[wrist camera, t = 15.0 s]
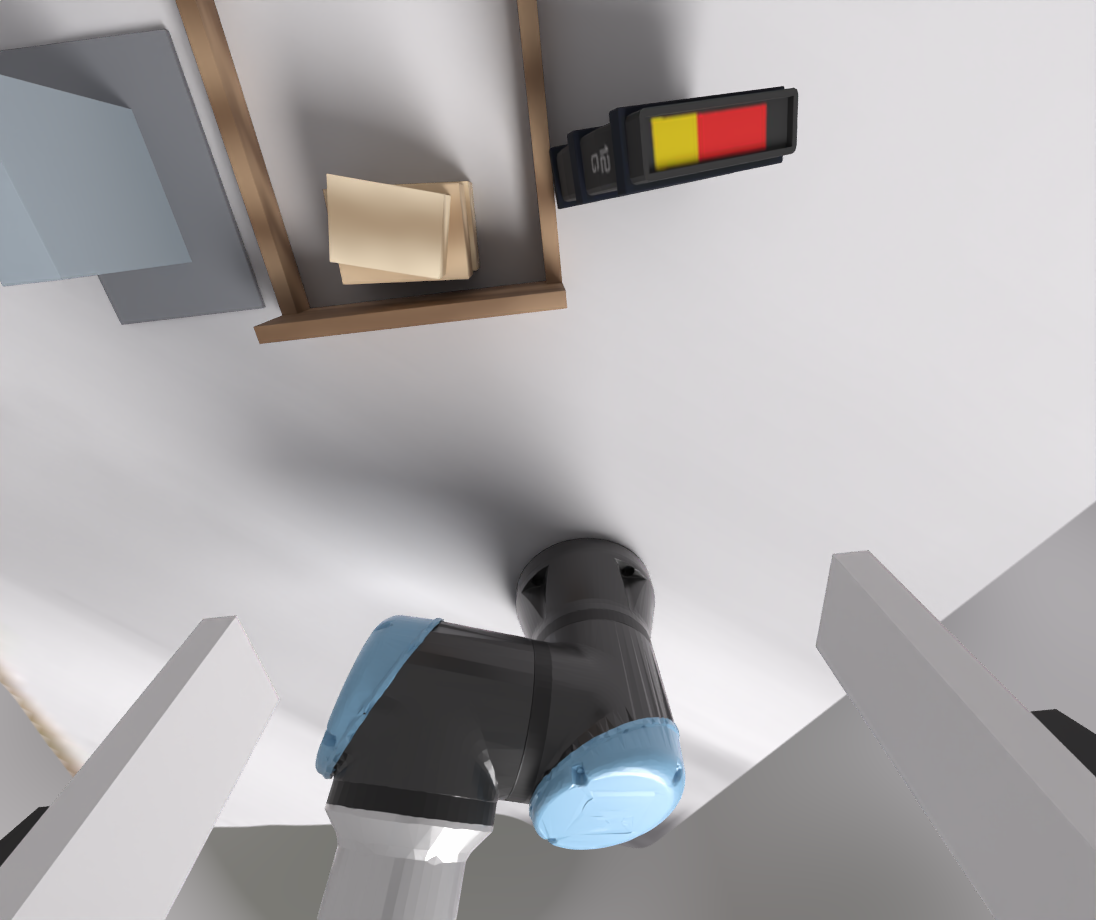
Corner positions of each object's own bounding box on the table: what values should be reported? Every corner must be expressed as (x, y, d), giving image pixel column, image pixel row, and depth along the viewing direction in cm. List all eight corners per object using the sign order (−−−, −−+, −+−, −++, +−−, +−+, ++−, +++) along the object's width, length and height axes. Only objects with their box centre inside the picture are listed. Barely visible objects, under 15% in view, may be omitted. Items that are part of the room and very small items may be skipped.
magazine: (507, 160, 35) (631, 100, 23) (654, 136, 40) (825, 76, 27) (517, 217, 37) (639, 191, 25) (658, 188, 42) (821, 154, 29)
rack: (561, 294, 41) (567, 308, 35) (300, 324, 42) (259, 343, 35) (520, -160, 30) (517, -261, 23) (159, -110, 30) (60, -196, 24)
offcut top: (446, 274, 35) (439, 279, 33) (345, 258, 35) (329, 261, 32) (450, 195, 33) (443, 194, 30) (343, 176, 32) (326, 173, 30)
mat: (265, 307, 41) (263, 308, 41) (125, 323, 41) (121, 324, 41) (168, 31, 33) (164, 29, 33) (-5, 53, 33) (-11, 52, 33)
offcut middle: (473, 274, 38) (468, 278, 35) (356, 279, 38) (343, 284, 35) (464, 185, 35) (458, 183, 33) (338, 191, 35) (322, 189, 33)
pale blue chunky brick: (192, 261, 39) (62, 279, 28) (148, 266, 39) (3, 286, 28) (131, 109, 35) (-50, 61, 24) (83, 115, 35) (-120, 70, 24)
